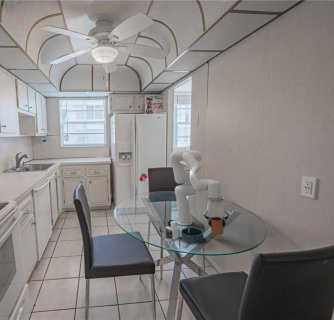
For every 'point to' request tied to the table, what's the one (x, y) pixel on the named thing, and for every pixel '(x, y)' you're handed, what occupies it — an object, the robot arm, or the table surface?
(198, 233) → the dark teal bowl
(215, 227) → the orange mug
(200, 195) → the table surface
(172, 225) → the medicine bottle
